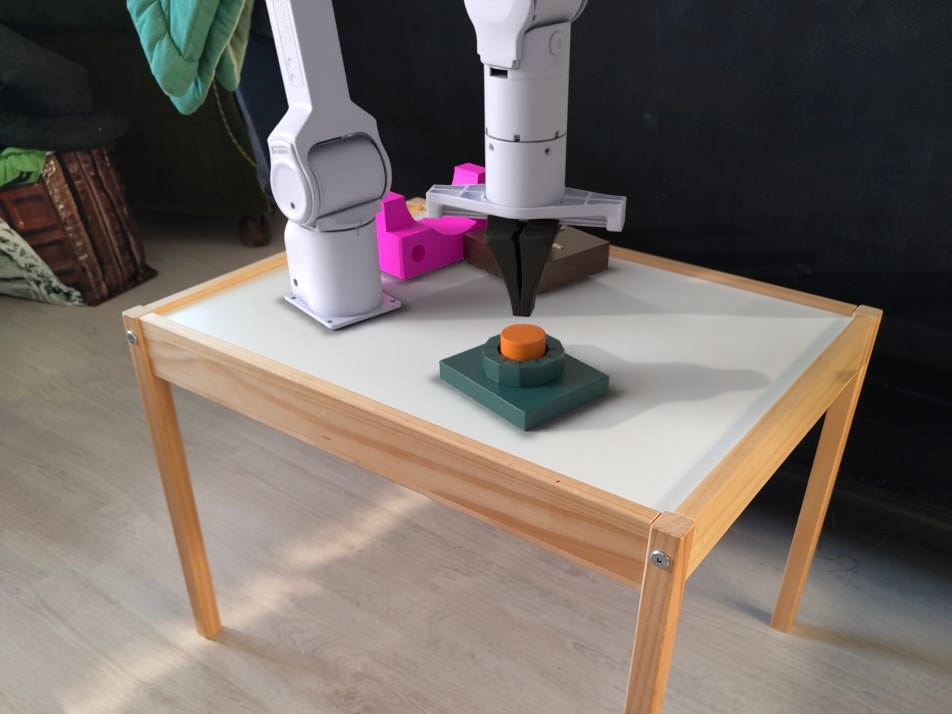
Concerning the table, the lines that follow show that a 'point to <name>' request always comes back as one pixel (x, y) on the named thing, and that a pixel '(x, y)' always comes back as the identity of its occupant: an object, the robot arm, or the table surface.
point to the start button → (523, 342)
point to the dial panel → (549, 256)
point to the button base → (524, 382)
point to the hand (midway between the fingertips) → (523, 311)
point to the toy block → (423, 232)
